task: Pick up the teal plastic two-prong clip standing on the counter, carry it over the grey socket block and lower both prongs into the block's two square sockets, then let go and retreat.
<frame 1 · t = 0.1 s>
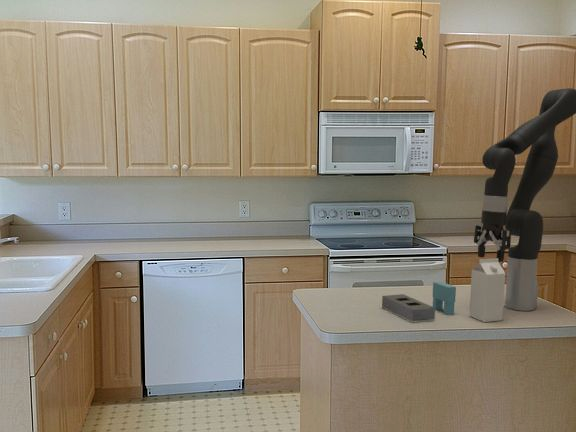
hand: (490, 259, 186), 17 cm above the counter, fingers open, 8 cm apart
milk carton: (485, 319, 180), on the counter
clip: (443, 311, 187), on the counter
grey socket block: (407, 313, 183), on the counter
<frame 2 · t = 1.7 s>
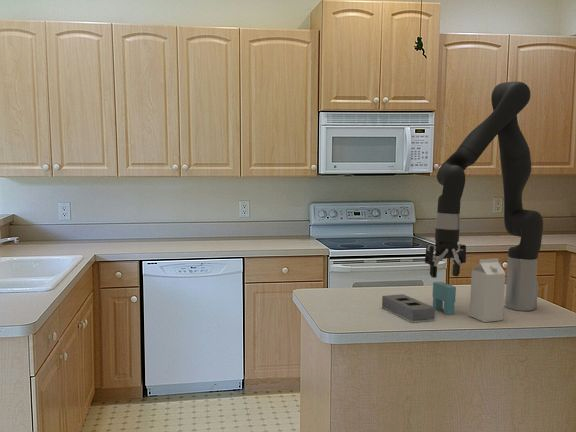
hand: (444, 276, 185), 12 cm above the counter, fingers open, 8 cm apart
nothing on the counter moved.
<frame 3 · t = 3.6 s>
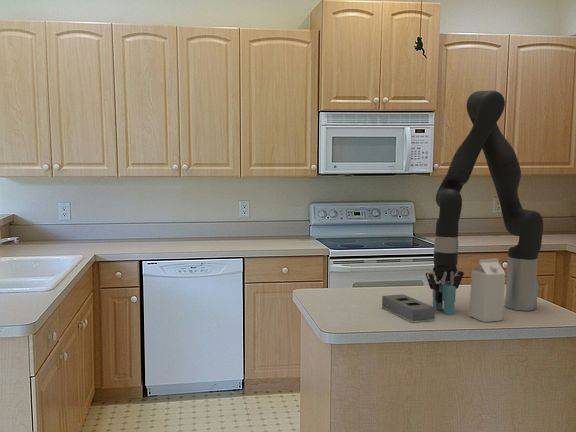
hand: (443, 301, 186), 3 cm above the counter, fingers closed on clip, 3 cm apart
clip: (443, 311, 187), on the counter, touching gripper
everything else where it was.
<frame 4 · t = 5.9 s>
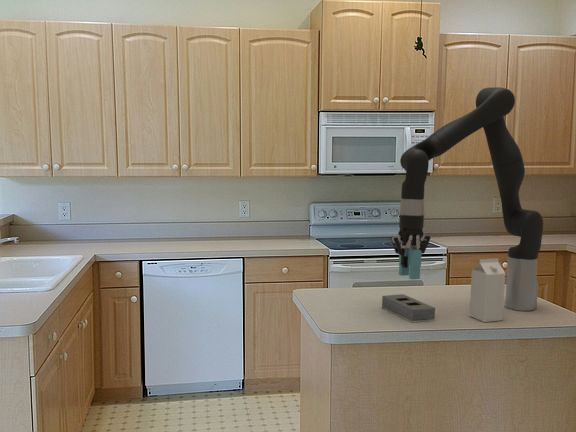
hand: (409, 267, 181), 15 cm above the counter, fingers closed on clip, 3 cm apart
clip: (409, 276, 182), point 12 cm above the counter, touching gripper
everything else where it was.
when the fingers open (5 cm above the counter, at t = 8.3 s): clip drops 1 cm, resting on grey socket block.
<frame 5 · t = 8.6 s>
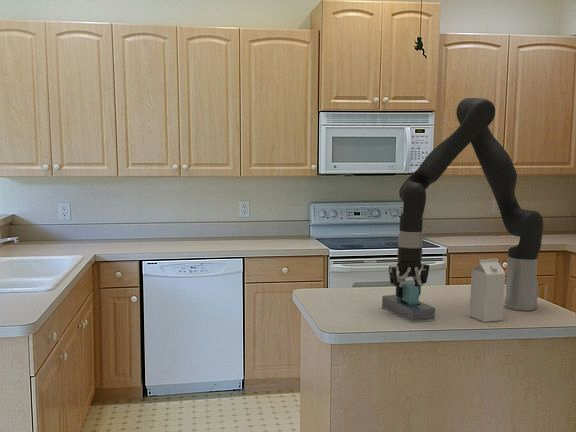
hand: (407, 297, 182), 6 cm above the counter, fingers open, 5 cm apart
clip: (406, 312, 183), point 1 cm above the counter, touching grey socket block
everything else where it was.
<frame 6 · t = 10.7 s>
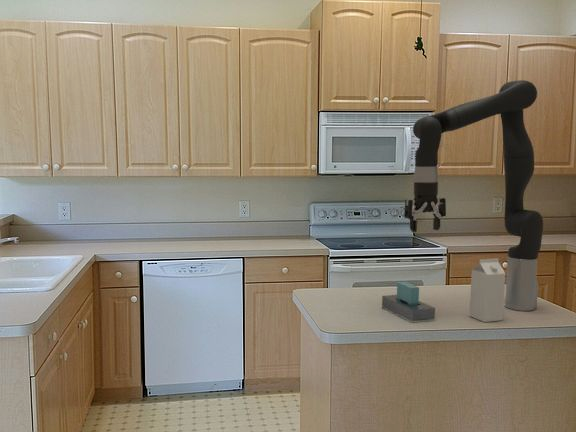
hand: (424, 230, 185), 26 cm above the counter, fingers open, 8 cm apart
nothing on the counter moved.
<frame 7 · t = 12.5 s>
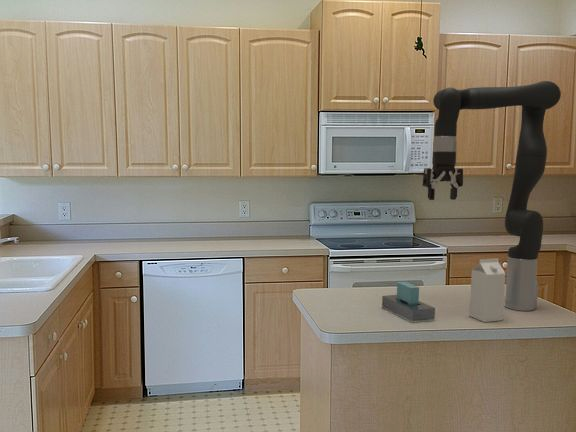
hand: (442, 199, 189), 36 cm above the counter, fingers open, 8 cm apart
nothing on the counter moved.
at the end: clip 0.2 cm off-centre on the grey socket block, point 0.5 cm above the grey socket block's base; clip tilted 0°; the gripper is holding nothing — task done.
